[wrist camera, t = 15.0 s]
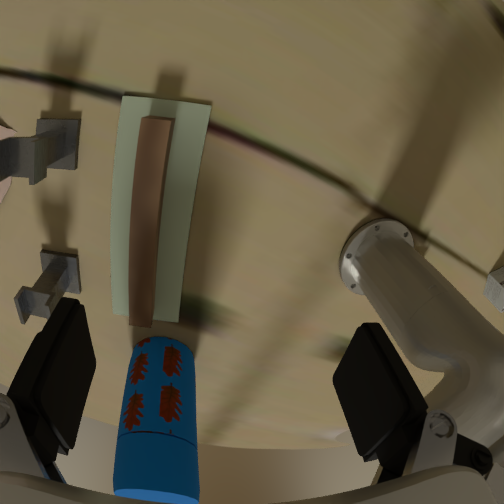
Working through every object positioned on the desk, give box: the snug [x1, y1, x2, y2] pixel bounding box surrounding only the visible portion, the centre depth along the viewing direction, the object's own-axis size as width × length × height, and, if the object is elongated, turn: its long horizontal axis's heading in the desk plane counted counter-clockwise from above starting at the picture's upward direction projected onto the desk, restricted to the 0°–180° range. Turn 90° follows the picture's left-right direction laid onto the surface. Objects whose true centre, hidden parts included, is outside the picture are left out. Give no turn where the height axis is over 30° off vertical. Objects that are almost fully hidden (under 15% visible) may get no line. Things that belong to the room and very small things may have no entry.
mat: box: [110, 96, 212, 323], centre depth 36 cm, size 10×30×1 cm, turn 167°
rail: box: [128, 115, 176, 328], centre depth 34 cm, size 3×26×4 cm, turn 167°
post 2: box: [14, 250, 81, 324], centre depth 33 cm, size 6×6×10 cm
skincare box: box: [483, 267, 504, 313], centre depth 48 cm, size 6×6×7 cm
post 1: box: [0, 119, 81, 185], centre depth 24 cm, size 6×6×10 cm
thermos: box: [113, 337, 200, 504], centre depth 36 cm, size 11×11×25 cm
